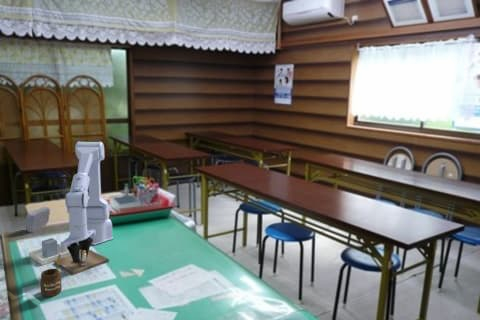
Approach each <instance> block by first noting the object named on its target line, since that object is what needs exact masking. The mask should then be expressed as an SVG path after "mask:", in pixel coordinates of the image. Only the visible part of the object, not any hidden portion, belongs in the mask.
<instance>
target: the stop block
mask: <svg viewBox="0 0 480 320" xmlns="http://www.w3.org/2000/svg"><path fill="white" fill-rule="evenodd" d="M57 244H58V240H56V239H55V238H53V237H51V238H48V239H43V240H41V248H42V255H43V256H44V257H46V258H49V257H52V256H55V255H58V249H57Z"/></svg>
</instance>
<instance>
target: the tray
mask: <svg viewBox="0 0 480 320" xmlns="http://www.w3.org/2000/svg"><path fill="white" fill-rule="evenodd" d="M57 249H58V255H59V254H60V255H61V258H64V257H67V256H70V255H71V254H70V252H69V251H68V249H67V248H66V249H64V248H61V245H60V244H59V243H57ZM58 255H55V256H52V257H49V258H46V257H44V256H43V255H42V247H41V248H38V249H35V250H31V251H29V252H28V258H30V259H31V260H33V261H34V262H36V263H39V264H38V265H40V266H46V265H48V264H52V263H54V261H55V260H58ZM61 258H60V259H61ZM42 261H44V262H45V263H44V262H43V263H40V262H42ZM43 264H44V265H43Z"/></svg>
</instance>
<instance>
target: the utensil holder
mask: <svg viewBox="0 0 480 320" xmlns="http://www.w3.org/2000/svg"><path fill="white" fill-rule="evenodd" d="M60 258H61V255H60V254H59V255H58V260H57V265H56V267H55V268H47V269H46V267H49V266H48V264H46V266H45V265H44V264H43V265H42V266H43V267H41V264H38V267H40V270H41V271H40V272H41V274H40V277H41V278H40V280H39V281H40V282H39V284H40V286H39V287H40V294H41V296H42V297H45V298H46V297H47V298H48V297H49V298H50V297H54V296H57V295H59V294H60V293H62V292H61V291H62V277H61V274H60V270H59V266H58V265H59V263H60ZM43 262H44V261H42V262H40V263H43ZM44 263H45V262H44ZM43 269H44V270H43Z"/></svg>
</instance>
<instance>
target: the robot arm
mask: <svg viewBox="0 0 480 320" xmlns="http://www.w3.org/2000/svg"><path fill="white" fill-rule="evenodd" d="M74 147H75V148H74V149H75V156H76V157H77V160H78V166H77V173H75V174H73V177H72V182H71V185H70V188H69V191H68V192H67V193H66V194H65V198H64V200H65V207H66V211H67V213H68V223H69V235H68V237H67V238H65V239H64V240H62V241H61V242H60V244H59V245H61V248H64V249H66V248H67V249H68V251H69V252H70V254H71V257H72V259H73V262H75V263H78V262H79V253H80V250H82V249H86V258H87V256H88V251H89V250H90V247H91V245H93V246H96V245H98V244H102V243H104V242H108V241H111V240H114V236H113V223H112V220H111V218H109V217H110V207H109V202H108V201H107V200H106V199H104V198H103V197H102V188H101V186H102V185H101V161H104V160H105V145H104V143H103V142H102V141H77V142H76V143H75V146H74Z"/></svg>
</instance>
